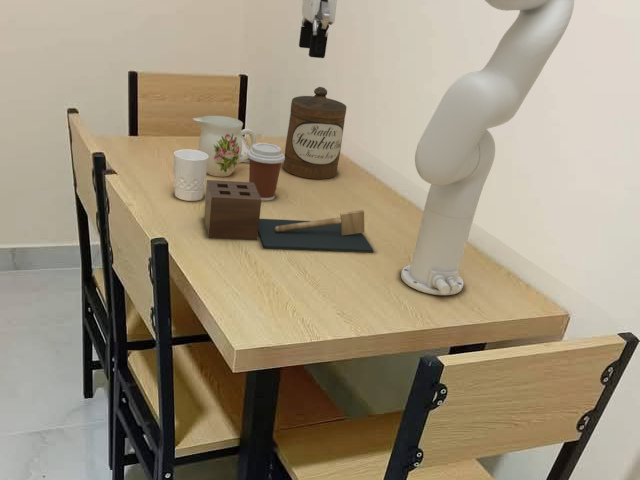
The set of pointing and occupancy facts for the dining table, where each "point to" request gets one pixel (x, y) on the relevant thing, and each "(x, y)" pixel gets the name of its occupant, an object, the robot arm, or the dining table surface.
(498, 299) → the dining table surface
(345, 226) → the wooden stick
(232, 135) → the pitcher
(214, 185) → the utensil block
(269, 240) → the mat
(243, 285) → the dining table surface
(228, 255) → the dining table surface
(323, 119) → the wooden container
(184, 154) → the white cup
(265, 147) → the coffee cup
